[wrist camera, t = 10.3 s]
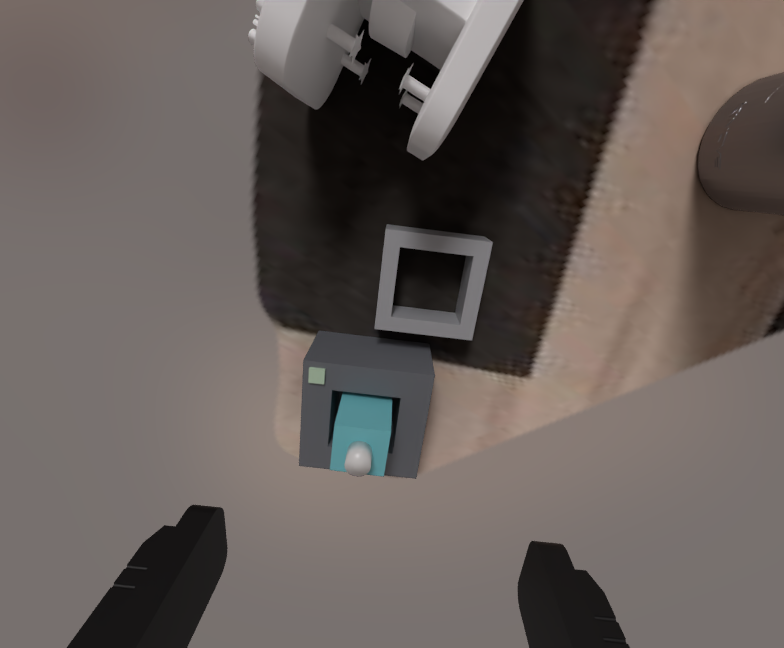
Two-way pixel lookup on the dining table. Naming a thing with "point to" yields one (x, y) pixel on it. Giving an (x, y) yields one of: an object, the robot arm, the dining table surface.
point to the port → (366, 376)
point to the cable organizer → (395, 31)
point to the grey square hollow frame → (469, 293)
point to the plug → (362, 434)
